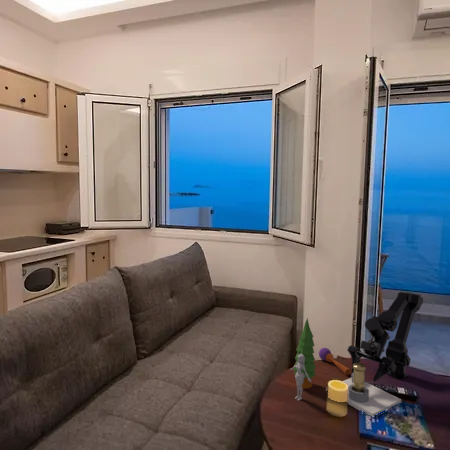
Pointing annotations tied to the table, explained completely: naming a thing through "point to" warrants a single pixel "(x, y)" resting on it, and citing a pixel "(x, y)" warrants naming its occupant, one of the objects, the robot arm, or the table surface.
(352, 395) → the socket plate
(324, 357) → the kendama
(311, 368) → the decorative tree
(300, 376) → the human figurine
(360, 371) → the disc
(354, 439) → the table surface
